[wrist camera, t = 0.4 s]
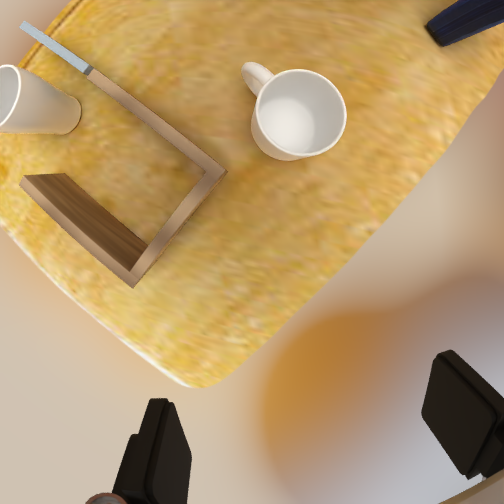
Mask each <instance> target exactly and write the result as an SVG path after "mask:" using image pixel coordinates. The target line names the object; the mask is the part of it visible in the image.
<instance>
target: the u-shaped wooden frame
mask: <svg viewBox="0 0 504 504" xmlns="http://www.w3.org/2000/svg"><path fill="white" fill-rule="evenodd" d="M87 79H88V80H90V81H91V82H92V83H94V84H95V85H96V86H98V87H99V88H100V89H102V90H103V91H104V92H106V93H107V94H108V95H110V96H111V97H112V98H113V99H115V100H116V101H117V102H119V103H120V104H121V105H123V106H124V107H125V108H127V109H128V110H129V111H130V112H132V113H133V114H134V115H136V116H137V117H138V118H139V119H141V120H142V121H143V122H145V123H146V124H147V125H148V126H150V127H151V128H152V129H153V130H155V131H156V132H157V133H159V134H160V135H161V136H162V137H164V138H165V139H166V140H167V141H169V142H170V143H171V144H172V145H174V146H175V147H176V148H177V149H179V150H180V151H181V152H182V153H184V154H185V155H186V156H187V157H189V158H190V159H191V160H192V161H194V162H195V163H196V164H197V165H199V166H200V167H201V168H202V169H203V170H205V171H206V173H205V174H204V175H203V177H202V178H201V179H200V180H199V182H198V183H197V184H196V185H195V186H194V188H193V189H192V190H191V191H190V193H189V194H188V195H187V196H186V198H185V199H184V200H183V201H182V203H181V204H180V205H179V206H178V208H177V209H176V210H175V212H174V213H173V214H172V215H171V217H170V218H169V219H168V221H167V222H166V223H165V225H164V226H163V227H162V228H161V230H160V231H159V232H158V234H157V235H156V236H155V238H154V239H153V240H152V242H151V243H150V244H149V246H148V245H147V244H146V243H144V242H143V241H142V240H141V239H140V238H138V237H137V236H136V235H135V234H134V233H132V232H131V231H130V230H129V229H128V228H126V227H125V226H124V225H123V224H122V223H120V222H119V221H118V220H117V219H116V218H115V217H113V216H112V215H111V214H110V213H109V212H108V211H106V210H105V209H104V208H103V207H102V206H101V205H99V204H98V203H97V202H96V201H95V200H94V199H93V198H91V197H90V196H89V195H88V194H87V193H86V192H85V191H84V190H82V189H81V188H80V187H79V186H78V185H77V184H76V183H75V182H74V181H72V180H71V179H70V178H69V177H68V176H67V175H66V174H65V173H63V174H41V175H24V176H23V177H22V179H21V181H20V183H19V186H20V187H21V188H22V189H23V190H24V191H25V192H26V193H27V194H28V195H29V196H30V197H31V198H32V199H33V200H34V201H35V202H36V203H37V204H38V205H39V206H40V207H41V208H42V209H43V210H44V211H45V212H46V213H47V214H48V215H49V216H50V217H51V218H52V219H54V220H55V221H56V222H57V223H58V224H59V225H60V226H61V227H62V228H63V229H64V230H65V231H66V232H67V233H68V234H70V235H71V236H72V237H73V238H74V239H75V240H76V241H77V242H78V243H80V244H81V245H82V246H83V247H84V248H85V249H86V250H87V251H89V252H90V253H91V254H92V255H93V256H94V257H95V258H97V259H98V260H99V261H100V262H101V263H102V264H104V265H105V266H106V267H107V268H108V269H109V270H111V271H112V272H113V273H114V274H115V275H117V276H118V277H119V278H120V279H121V280H123V281H124V282H125V283H126V284H128V285H129V286H130V287H131V288H134V286H135V285H136V284H137V283H138V282H139V281H140V279H141V278H142V277H143V276H144V275H145V274H146V273H147V271H148V270H149V269H150V268H151V267H152V266H153V264H154V263H155V262H156V261H157V259H158V258H159V257H160V256H161V254H162V253H163V252H164V250H165V249H166V248H167V246H168V245H169V244H170V243H171V241H172V240H173V239H174V237H175V236H176V235H177V234H178V232H179V231H180V230H181V228H182V227H183V226H184V225H185V223H186V222H187V221H188V220H189V218H190V217H191V216H192V215H193V213H194V212H195V211H196V210H197V208H198V207H199V206H200V205H201V203H202V202H203V201H204V200H205V199H206V197H207V196H208V195H209V194H210V193H211V191H212V190H213V189H214V188H215V187H216V185H217V184H218V183H219V182H220V181H221V179H222V178H223V177H224V176H225V175H226V173H227V172H228V171H227V170H226V169H224V168H223V167H222V166H221V165H220V164H218V163H217V162H216V161H215V160H213V159H212V158H211V157H210V156H209V155H207V154H206V153H205V152H204V151H202V150H201V149H200V148H199V147H197V146H196V145H195V144H194V143H192V142H191V141H190V140H189V139H187V138H186V137H185V136H184V135H182V134H181V133H180V132H178V131H177V130H176V129H175V128H173V127H172V126H171V125H170V124H168V123H167V122H166V121H164V120H163V119H162V118H161V117H159V116H158V115H157V114H155V113H154V112H153V111H151V110H150V109H149V108H147V107H146V106H145V105H144V104H142V103H141V102H140V101H138V100H137V99H136V98H134V97H133V96H132V95H130V94H129V93H128V92H126V91H125V90H124V89H122V88H121V87H119V86H118V85H117V84H115V83H114V82H112V81H111V80H110V79H108V78H107V77H105V76H104V75H103V74H101V73H100V72H98V71H97V70H96V69H93V70H92V71H91V72H90V74H89V75H88V76H87Z"/></svg>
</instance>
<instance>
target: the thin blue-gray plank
mask: <svg viewBox="0 0 504 504" xmlns="http://www.w3.org/2000/svg"><path fill="white" fill-rule="evenodd" d="M19 28H21V29H22V30H24V31H25V32H27V33H28V34H30V35H31V36H33V37H34V38H35V39H37V40H38V41H39V42H41V43H42V44H44V45H45V46H46V47H48V48H49V49H51V50H52V51H53V52H55V53H56V54H58V55H59V56H60V57H62V58H63V59H65V60H66V61H67V62H69V63H70V64H71V65H73V66H74V67H76V68H77V69H78V70H80V71H81V72H82V73H84V74H86V75H87V76H88V75H89V74H90V72H91V71H92V70H93V69H95V68H93V67H92V66H91V65H89V64H88V63H86V62H85V61H84V60H82V59H81V58H79V57H78V56H77V55H75V54H74V53H72V52H71V51H69V50H68V49H66V48H65V47H64V46H62V45H61V44H59V43H58V42H56V41H55V40H53V39H52V38H50V37H49V36H47V35H46V34H44V33H43V32H41V31H40V30H38V29H36V28H35V27H33V26H32V25H30V24H29V23H27V22H26V21H24V22H23V23H22V24H21V26H20V27H19ZM97 71H98V70H97ZM98 72H99V71H98ZM101 74H102V73H101ZM104 76H105V75H104ZM105 77H106V76H105ZM108 79H109V78H108ZM112 82H113V81H112ZM119 87H120V86H119Z"/></svg>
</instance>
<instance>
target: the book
mask: <svg viewBox="0 0 504 504" xmlns="http://www.w3.org/2000/svg"><path fill="white" fill-rule="evenodd" d="M503 22H504V0H458V1H457V2H455V3H454V4H453V5H451V6H450V7H448V8H446V9H445V10H443V11H442V12H441V13H439V14H438V15H437V16H435V17H434V18H433V19H432V20H431V21H429V22H428V24H427V28H428V30H429V31H430V32H431V33H432V35H433V36H434V37H435V38H436V40H437V41H438V42H439V44H440V45H441V46H447V45H450V44H452V43H455V42H458V41H460V40H462V39H465V38H467V37H470V36H472V35H474V34H477V33H479V32H482V31H484V30H486V29H489V28H491V27H494V26H496V25H498V24H501V23H503Z"/></svg>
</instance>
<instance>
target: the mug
mask: <svg viewBox="0 0 504 504" xmlns="http://www.w3.org/2000/svg"><path fill="white" fill-rule="evenodd" d="M241 73H242V77H243V79H244V81H245V82H246V84H247V86H248V87H249V88H250V90H251V91H252V92H253V93H254V95H255V96H256V97H257V100H256V104H255V107H254V111H253V115H252V119H251V132H252V136H253V138H254V140H255V142H256V144H257V145H258V147H259V148H260V149H261V150H262V151H263V152H264V153H265V154H267V155H269V156H270V157H272V158H275V159H278V160H283V161H292V160H298V159H302V158H306V157H310V156H314V155H318V154H321V153H323V152H325V151H327V150H329V149H330V148H331V147H333V146H334V145H335V144H336V143H337V142H338V140H339V139H340V137H341V136H342V134H343V132H344V129H345V125H346V118H347V113H346V107H345V103H344V100H343V98H342V96H341V94H340V92H339V91H338V89H337V88H336V87H335V86H334V85H333V83H331V82H330V81H329V80H328V79H327V78H325V77H324V76H322V75H320V74H318V73H315V72H313V71H309V70H303V69H292V70H287V71H283V72H281V73H278V74H276V75H274V74H273V73H271V72H270V71H269V70H268V69H266V68H265V67H264V66H262V65H260V64H258V63H255V62H247V63H245V64H244V65H243V66H242V69H241Z"/></svg>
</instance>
